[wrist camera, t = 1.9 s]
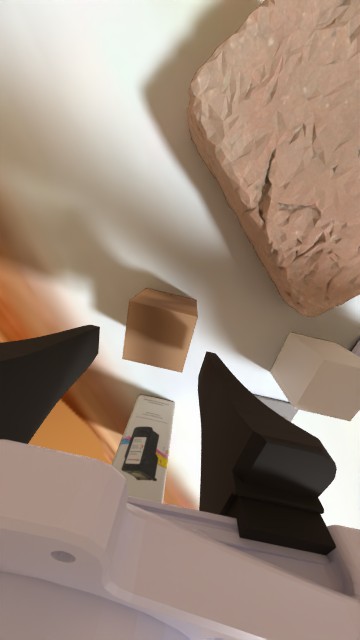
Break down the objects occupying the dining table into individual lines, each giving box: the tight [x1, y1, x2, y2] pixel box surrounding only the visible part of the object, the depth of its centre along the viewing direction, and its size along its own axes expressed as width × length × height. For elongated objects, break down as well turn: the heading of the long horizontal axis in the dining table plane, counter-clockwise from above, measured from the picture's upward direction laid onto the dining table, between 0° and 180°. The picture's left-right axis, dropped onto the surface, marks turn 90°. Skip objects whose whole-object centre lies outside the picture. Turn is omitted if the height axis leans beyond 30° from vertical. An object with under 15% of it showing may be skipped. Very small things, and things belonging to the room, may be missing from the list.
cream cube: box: [270, 332, 360, 421], centre depth 16 cm, size 5×5×5 cm
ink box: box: [112, 395, 175, 503], centre depth 18 cm, size 9×5×12 cm, turn 168°
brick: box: [187, 0, 360, 317], centre depth 12 cm, size 17×8×5 cm, turn 37°
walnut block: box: [122, 288, 198, 372], centre depth 16 cm, size 5×5×5 cm
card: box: [254, 395, 299, 422], centre depth 22 cm, size 7×10×1 cm
